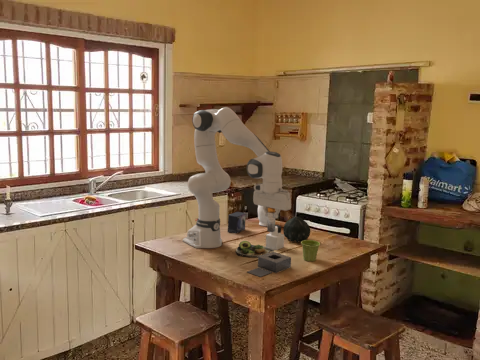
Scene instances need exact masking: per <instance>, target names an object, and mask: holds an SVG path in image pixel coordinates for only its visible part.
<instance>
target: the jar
mask: <svg viewBox="0 0 480 360" xmlns="http://www.w3.org/2000/svg"><path fill="white" fill-rule="evenodd" d="M257 218H258V221H259V223H258V225H259V226H262V227H267V219H268V216H265V211H264V209H263V206H260V205H257Z"/></svg>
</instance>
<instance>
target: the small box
mask: <svg viewBox="0 0 480 360" xmlns="http://www.w3.org/2000/svg"><path fill="white" fill-rule="evenodd" d="M246 215H247V214H246V213H245V212H241V211H235V212H233V213H229V214H228V218H227V233H231V234H238V233H241V232H244V231H245V230H246V218H247V217H246Z"/></svg>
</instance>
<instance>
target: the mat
mask: <svg viewBox="0 0 480 360" xmlns="http://www.w3.org/2000/svg"><path fill="white" fill-rule="evenodd" d="M246 273H248V274H251V275H253V276H256V277H259V278H262V277H265V276H268V275H270V274H272V273H273V272H271V271H268V270H265V269H262V268H260V267H256V268H253V269H251V270H248V271H246Z"/></svg>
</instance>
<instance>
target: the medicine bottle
mask: <svg viewBox="0 0 480 360" xmlns="http://www.w3.org/2000/svg"><path fill="white" fill-rule="evenodd" d="M265 247H267V248H268V249H272V250H274V251H277V250H281V249H282V248H283V249H284V248H285V236H284V233H283V234H282V226H281V225H279V224H275V232H269V233H267V234H266V235H265Z"/></svg>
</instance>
